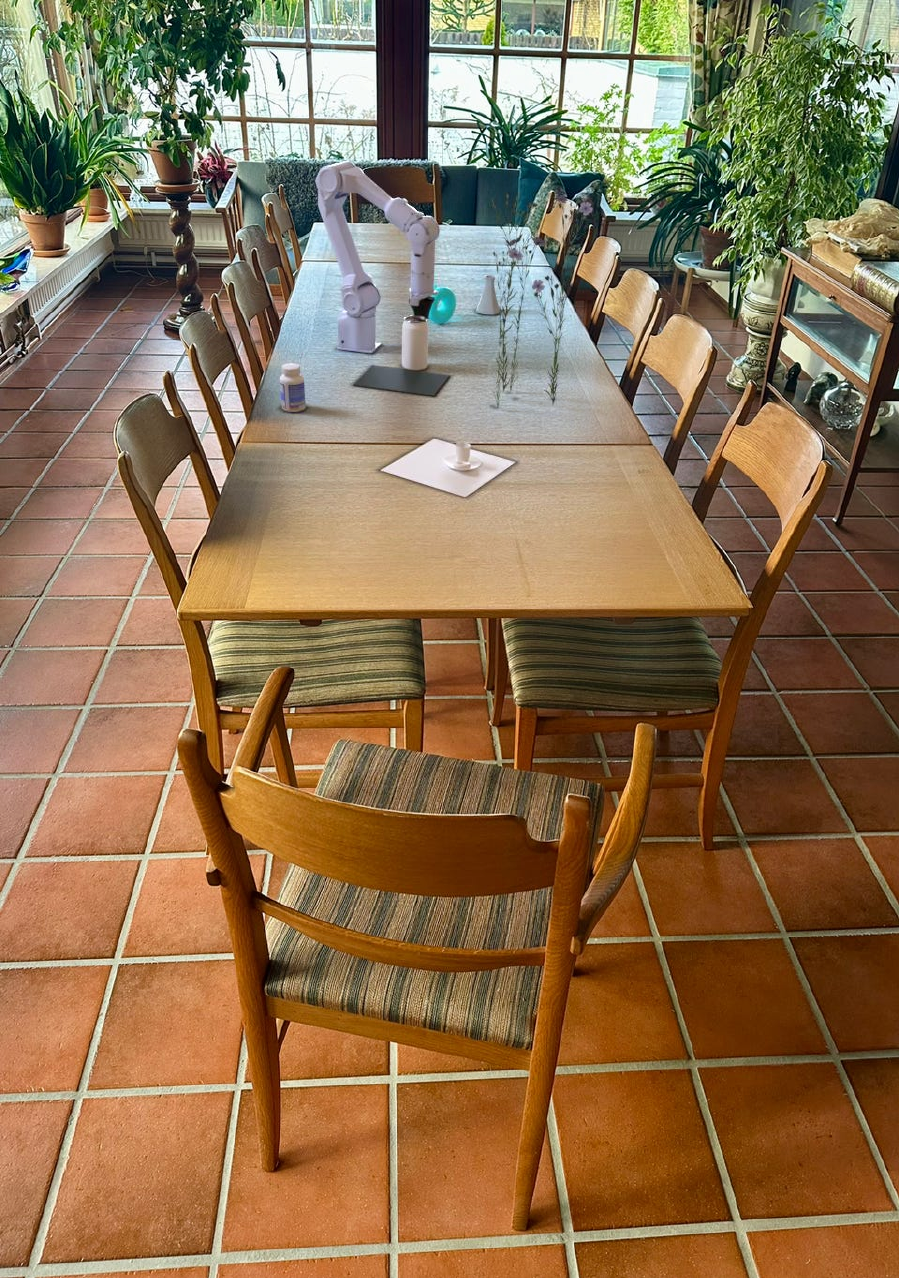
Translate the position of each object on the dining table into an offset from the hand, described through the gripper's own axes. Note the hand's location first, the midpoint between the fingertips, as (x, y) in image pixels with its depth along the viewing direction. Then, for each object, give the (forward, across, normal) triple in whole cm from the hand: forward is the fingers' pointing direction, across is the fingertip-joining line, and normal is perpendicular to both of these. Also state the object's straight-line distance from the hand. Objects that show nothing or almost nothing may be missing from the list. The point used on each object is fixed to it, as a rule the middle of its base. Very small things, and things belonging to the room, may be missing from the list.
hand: (421, 327), depth 248 cm
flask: (+9, +48, -7) cm, 49 cm away
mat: (+8, -16, 0) cm, 18 cm away
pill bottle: (+9, -41, +18) cm, 46 cm away
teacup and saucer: (+9, -59, -23) cm, 64 cm away
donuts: (+9, +34, +6) cm, 35 cm away
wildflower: (+9, -18, -31) cm, 37 cm away
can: (+9, -5, 0) cm, 10 cm away
